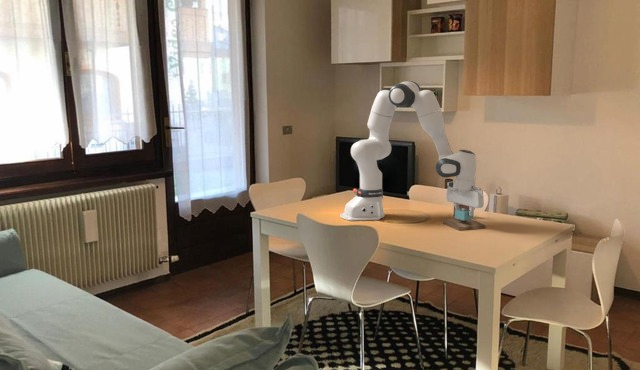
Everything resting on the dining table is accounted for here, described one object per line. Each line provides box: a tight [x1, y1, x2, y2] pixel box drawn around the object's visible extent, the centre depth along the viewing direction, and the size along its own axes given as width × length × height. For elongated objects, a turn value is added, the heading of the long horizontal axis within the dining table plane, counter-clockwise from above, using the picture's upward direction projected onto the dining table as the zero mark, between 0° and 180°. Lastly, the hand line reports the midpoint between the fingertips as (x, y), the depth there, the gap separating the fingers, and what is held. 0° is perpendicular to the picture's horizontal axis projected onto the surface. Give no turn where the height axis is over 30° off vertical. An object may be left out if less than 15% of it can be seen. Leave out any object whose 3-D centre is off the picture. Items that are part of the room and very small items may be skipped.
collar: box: [454, 208, 475, 221], centre depth 263 cm, size 6×6×4 cm
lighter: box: [452, 204, 470, 218], centre depth 281 cm, size 8×3×10 cm, turn 65°
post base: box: [442, 208, 486, 231], centre depth 263 cm, size 14×14×8 cm
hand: (464, 214), depth 263 cm, fingers closed on collar, 6 cm apart
